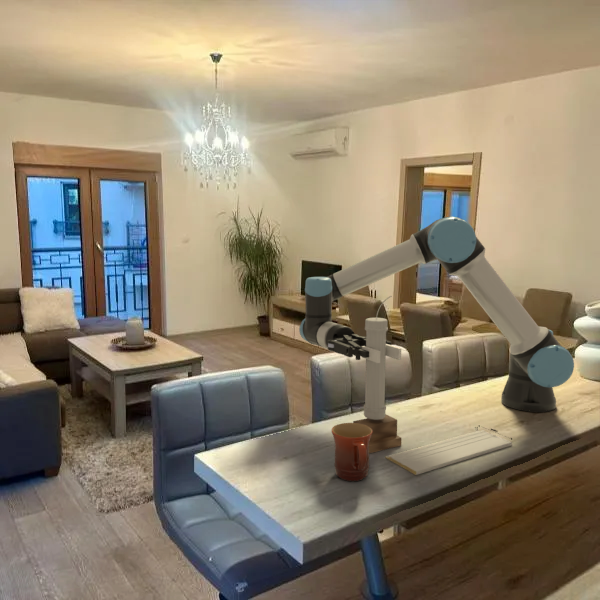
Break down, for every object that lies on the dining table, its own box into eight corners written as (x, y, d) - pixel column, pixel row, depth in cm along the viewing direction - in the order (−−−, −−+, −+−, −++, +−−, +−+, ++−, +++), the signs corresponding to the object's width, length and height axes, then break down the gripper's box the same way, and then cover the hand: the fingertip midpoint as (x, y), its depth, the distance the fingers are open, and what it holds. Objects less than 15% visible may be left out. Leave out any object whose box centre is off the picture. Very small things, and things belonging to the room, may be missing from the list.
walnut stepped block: (381, 434, 140) (381, 412, 139) (401, 445, 133) (401, 422, 132) (349, 442, 135) (349, 419, 134) (367, 453, 128) (368, 429, 127)
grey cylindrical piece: (363, 412, 136) (365, 293, 132) (388, 413, 135) (391, 294, 131) (363, 419, 130) (365, 296, 126) (389, 420, 130) (392, 297, 126)
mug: (326, 468, 120) (326, 424, 119) (364, 464, 122) (364, 421, 121) (342, 494, 109) (342, 445, 107) (383, 489, 110) (384, 441, 109)
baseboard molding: (381, 458, 127) (416, 478, 117) (381, 446, 127) (416, 465, 116) (474, 432, 143) (512, 448, 132) (474, 421, 142) (512, 436, 132)
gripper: (364, 347, 151) (419, 366, 131) (306, 355, 142) (356, 376, 122) (364, 321, 150) (420, 335, 130) (306, 327, 141) (356, 344, 121)
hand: (389, 355), depth 126 cm, fingers closed on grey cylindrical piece, 5 cm apart
